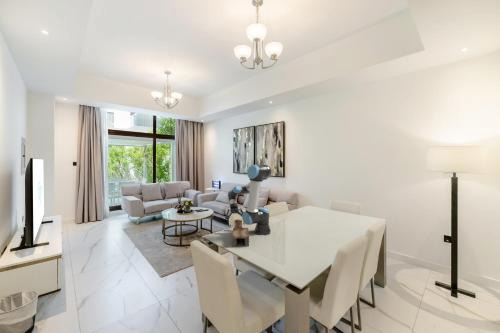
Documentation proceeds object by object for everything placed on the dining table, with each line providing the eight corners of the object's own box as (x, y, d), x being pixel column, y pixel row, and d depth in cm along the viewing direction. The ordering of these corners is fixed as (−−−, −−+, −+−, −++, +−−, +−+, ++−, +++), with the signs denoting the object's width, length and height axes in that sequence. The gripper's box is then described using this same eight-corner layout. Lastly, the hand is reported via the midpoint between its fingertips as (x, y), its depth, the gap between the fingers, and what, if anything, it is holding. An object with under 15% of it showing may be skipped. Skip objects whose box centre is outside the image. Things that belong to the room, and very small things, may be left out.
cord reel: (241, 232, 204) (241, 219, 204) (241, 234, 197) (242, 221, 197) (234, 232, 204) (234, 219, 203) (234, 234, 197) (234, 221, 196)
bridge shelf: (247, 236, 192) (247, 227, 192) (248, 246, 173) (249, 236, 172) (232, 236, 192) (233, 227, 191) (232, 246, 172) (232, 236, 171)
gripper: (244, 206, 222) (249, 225, 208) (220, 207, 214) (223, 227, 200) (246, 202, 216) (250, 221, 203) (221, 203, 208) (224, 223, 195)
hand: (237, 224), depth 201 cm, fingers open, 13 cm apart
